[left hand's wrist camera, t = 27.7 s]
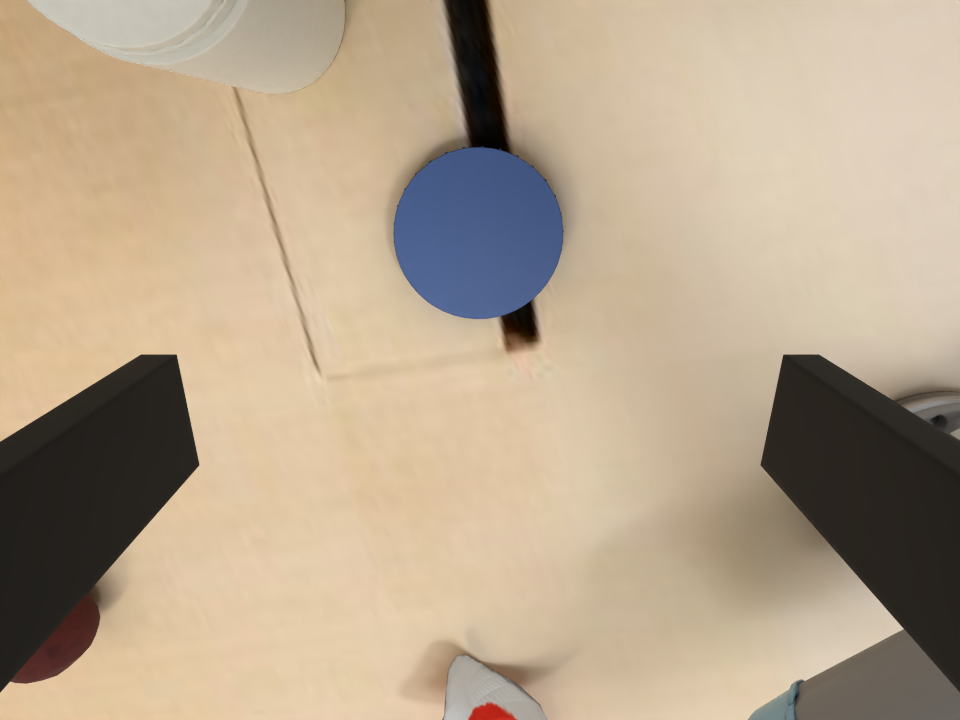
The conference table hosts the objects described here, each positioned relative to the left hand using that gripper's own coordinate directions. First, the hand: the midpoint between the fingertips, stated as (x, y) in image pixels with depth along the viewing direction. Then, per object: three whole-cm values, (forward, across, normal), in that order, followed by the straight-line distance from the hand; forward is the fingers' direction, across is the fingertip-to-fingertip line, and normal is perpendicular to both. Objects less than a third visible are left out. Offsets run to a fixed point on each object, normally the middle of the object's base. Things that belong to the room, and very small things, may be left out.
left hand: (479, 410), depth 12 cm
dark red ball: (+26, +34, +30) cm, 52 cm away
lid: (+24, 0, 0) cm, 24 cm away
